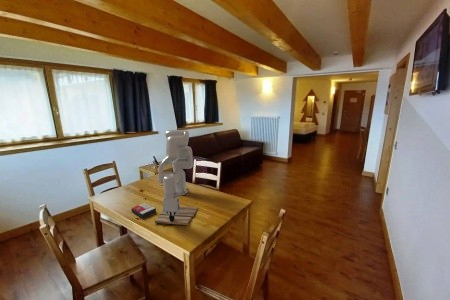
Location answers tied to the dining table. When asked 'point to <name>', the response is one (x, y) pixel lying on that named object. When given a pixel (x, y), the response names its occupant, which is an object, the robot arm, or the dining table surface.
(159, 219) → the plank
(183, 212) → the laid row
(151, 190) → the dining table surface
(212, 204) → the dining table surface
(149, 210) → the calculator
